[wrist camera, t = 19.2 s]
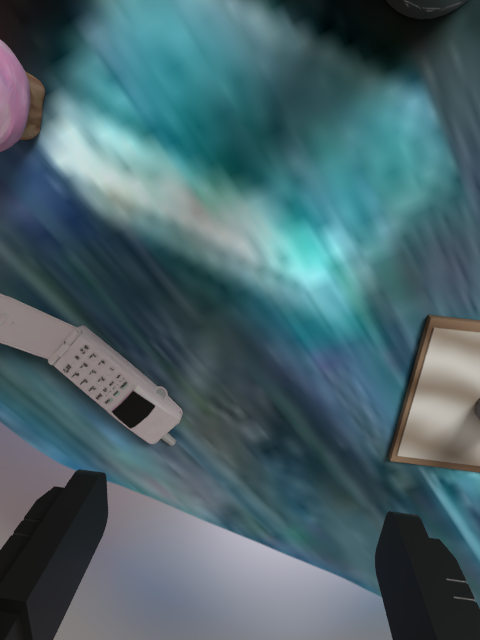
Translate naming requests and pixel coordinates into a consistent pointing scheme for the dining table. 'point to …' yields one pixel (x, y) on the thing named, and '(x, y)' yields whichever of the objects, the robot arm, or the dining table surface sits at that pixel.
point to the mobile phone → (92, 369)
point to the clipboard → (442, 398)
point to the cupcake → (18, 101)
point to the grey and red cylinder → (477, 409)
